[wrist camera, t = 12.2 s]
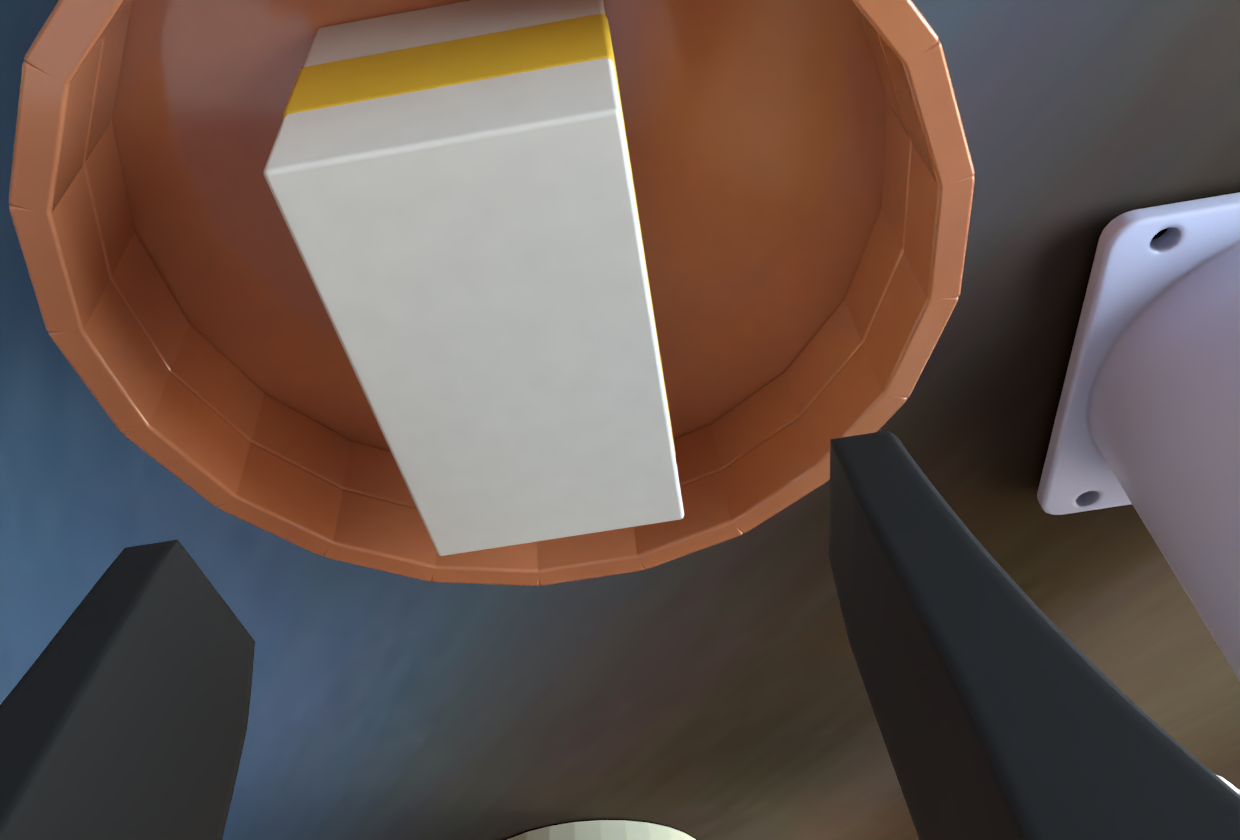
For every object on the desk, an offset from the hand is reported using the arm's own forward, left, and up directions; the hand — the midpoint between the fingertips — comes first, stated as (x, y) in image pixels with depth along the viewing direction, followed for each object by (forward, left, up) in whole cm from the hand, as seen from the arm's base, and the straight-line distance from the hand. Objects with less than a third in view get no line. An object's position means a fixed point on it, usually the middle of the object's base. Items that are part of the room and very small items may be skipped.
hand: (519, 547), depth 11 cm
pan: (0, 0, -7) cm, 7 cm away
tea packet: (0, 0, -7) cm, 7 cm away
